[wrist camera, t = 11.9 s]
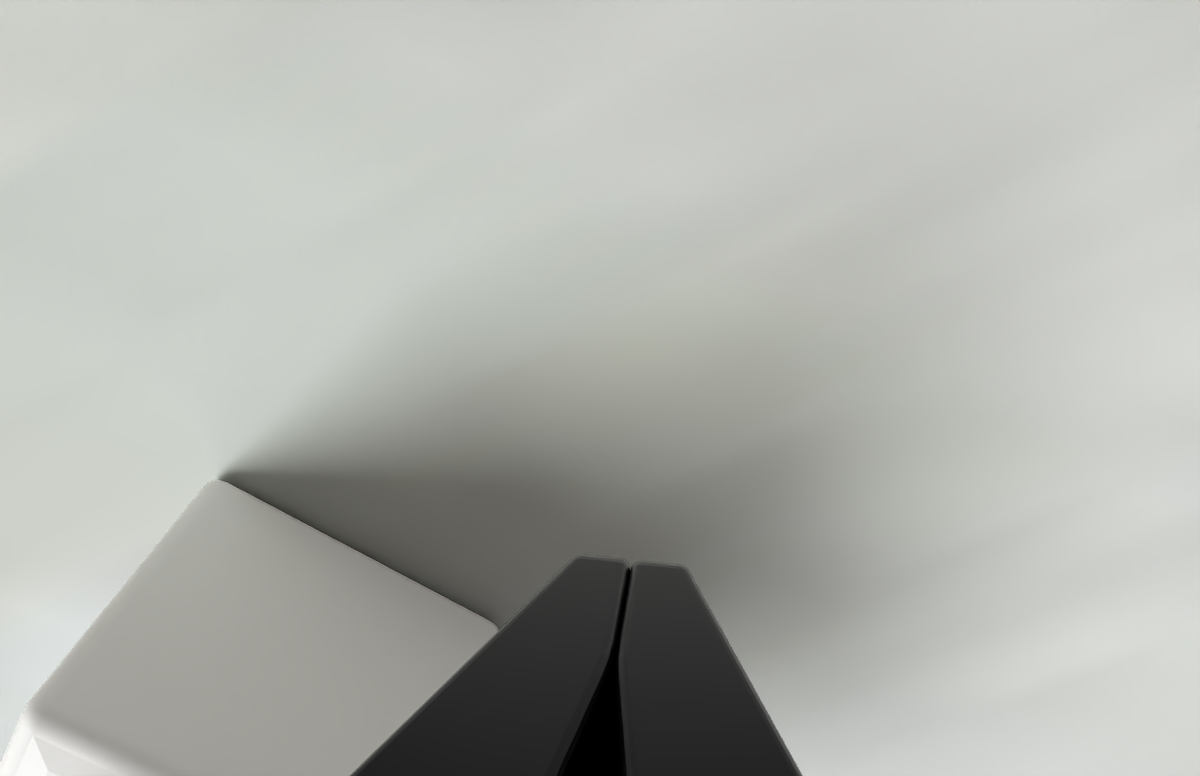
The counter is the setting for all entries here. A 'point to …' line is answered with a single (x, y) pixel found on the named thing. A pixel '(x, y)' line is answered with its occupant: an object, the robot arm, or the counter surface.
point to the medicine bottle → (244, 656)
